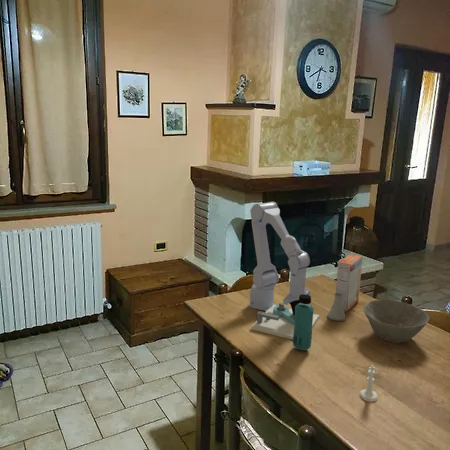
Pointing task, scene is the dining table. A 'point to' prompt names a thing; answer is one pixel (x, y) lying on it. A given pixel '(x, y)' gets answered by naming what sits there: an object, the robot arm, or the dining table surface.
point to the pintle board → (276, 323)
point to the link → (284, 313)
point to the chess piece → (369, 387)
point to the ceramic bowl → (395, 319)
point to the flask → (337, 309)
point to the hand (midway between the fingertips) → (295, 316)
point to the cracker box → (349, 280)
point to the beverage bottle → (303, 323)
